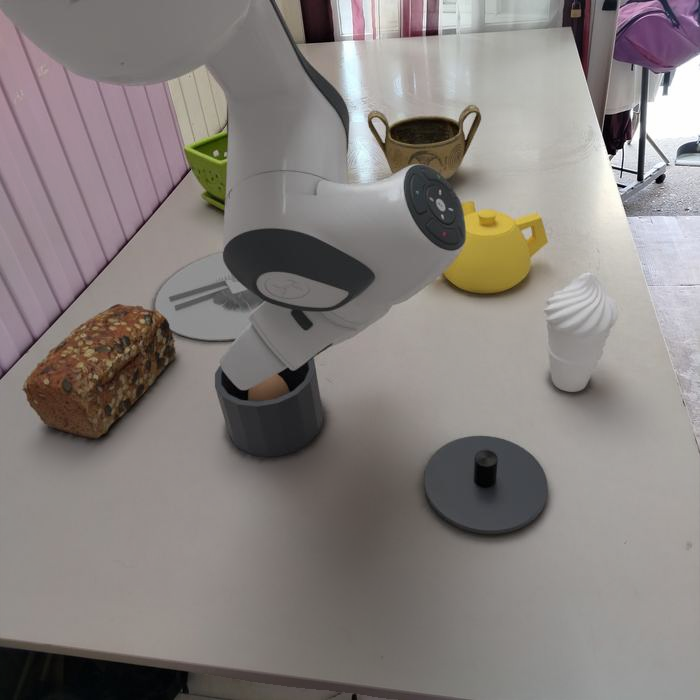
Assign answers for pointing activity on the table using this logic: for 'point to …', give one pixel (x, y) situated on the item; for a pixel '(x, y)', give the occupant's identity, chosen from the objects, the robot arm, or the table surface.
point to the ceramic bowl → (426, 141)
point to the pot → (273, 413)
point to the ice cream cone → (578, 330)
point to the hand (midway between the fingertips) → (276, 341)
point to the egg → (268, 389)
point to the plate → (206, 301)
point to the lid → (485, 484)
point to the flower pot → (210, 167)
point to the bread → (100, 370)
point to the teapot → (495, 250)
